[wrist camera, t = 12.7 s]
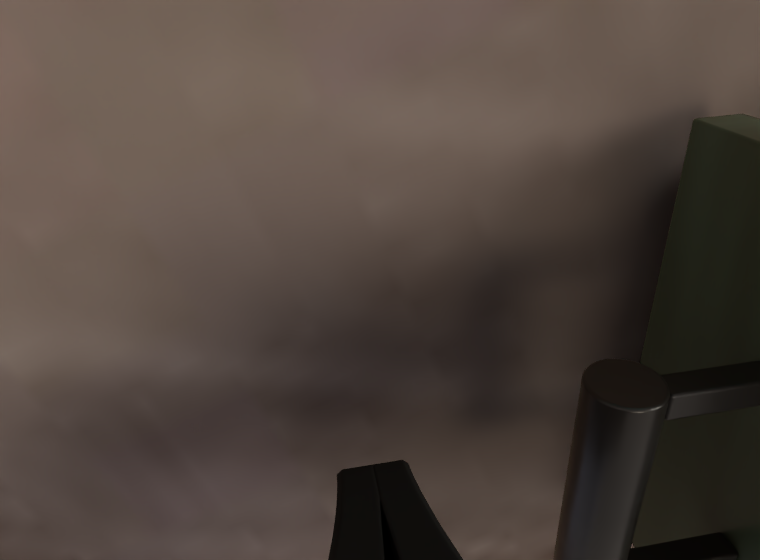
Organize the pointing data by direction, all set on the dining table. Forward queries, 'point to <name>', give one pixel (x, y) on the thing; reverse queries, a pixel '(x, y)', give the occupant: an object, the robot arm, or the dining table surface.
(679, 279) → the drawer
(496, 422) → the dining table surface
